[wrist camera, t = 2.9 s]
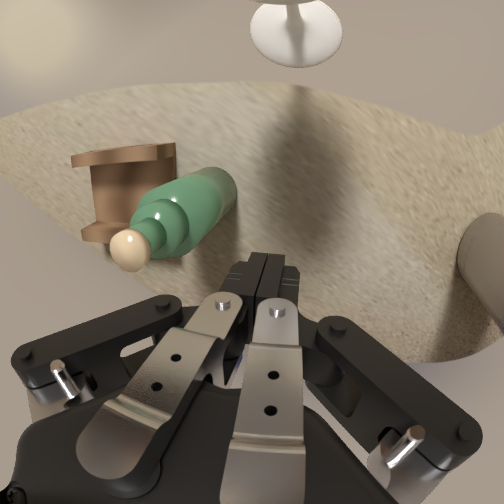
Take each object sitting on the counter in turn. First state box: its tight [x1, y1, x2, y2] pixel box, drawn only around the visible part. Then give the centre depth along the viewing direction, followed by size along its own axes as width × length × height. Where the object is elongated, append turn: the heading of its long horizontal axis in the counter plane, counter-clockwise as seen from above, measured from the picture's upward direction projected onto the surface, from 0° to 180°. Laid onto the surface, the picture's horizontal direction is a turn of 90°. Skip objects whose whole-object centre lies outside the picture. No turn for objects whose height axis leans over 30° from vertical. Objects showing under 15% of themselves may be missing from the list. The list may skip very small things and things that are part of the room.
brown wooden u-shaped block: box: [71, 143, 176, 244], centre depth 28 cm, size 12×10×4 cm
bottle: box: [110, 167, 237, 272], centre depth 21 cm, size 5×5×15 cm
